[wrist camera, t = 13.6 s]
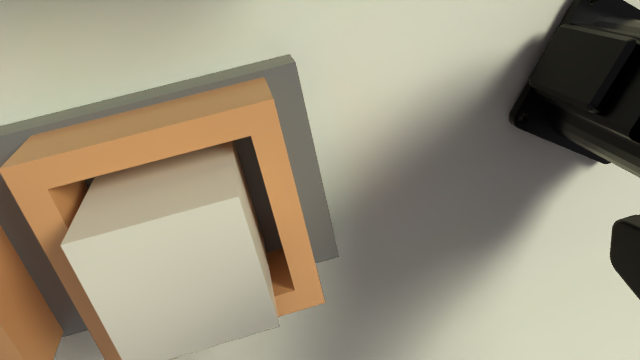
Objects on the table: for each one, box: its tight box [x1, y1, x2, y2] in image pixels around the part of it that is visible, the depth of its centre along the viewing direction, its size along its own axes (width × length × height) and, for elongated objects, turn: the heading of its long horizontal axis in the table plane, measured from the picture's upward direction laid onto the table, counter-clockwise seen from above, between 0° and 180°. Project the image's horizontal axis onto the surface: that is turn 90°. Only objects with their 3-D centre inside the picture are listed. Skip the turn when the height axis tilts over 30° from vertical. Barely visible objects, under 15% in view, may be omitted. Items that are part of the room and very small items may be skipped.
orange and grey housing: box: [0, 54, 339, 360], centre depth 17 cm, size 21×9×7 cm, turn 102°
